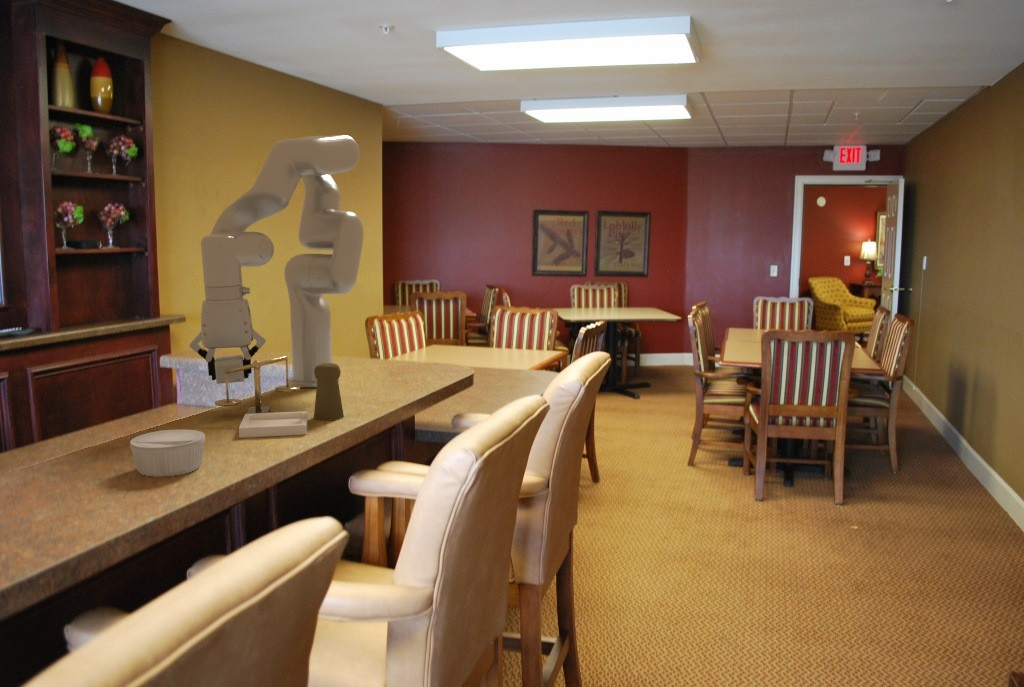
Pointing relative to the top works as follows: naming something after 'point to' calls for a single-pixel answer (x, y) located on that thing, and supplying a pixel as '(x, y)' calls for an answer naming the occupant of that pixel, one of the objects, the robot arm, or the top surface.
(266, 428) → the dish
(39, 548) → the top surface
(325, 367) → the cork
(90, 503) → the top surface
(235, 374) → the small box
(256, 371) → the balance
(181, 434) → the ramekin
